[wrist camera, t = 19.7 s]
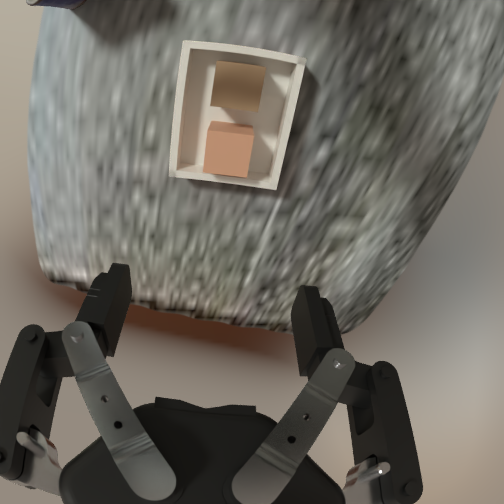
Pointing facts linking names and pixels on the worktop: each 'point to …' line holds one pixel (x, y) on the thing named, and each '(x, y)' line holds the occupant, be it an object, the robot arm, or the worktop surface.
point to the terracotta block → (228, 148)
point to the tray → (233, 111)
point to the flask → (57, 3)
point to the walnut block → (237, 85)
